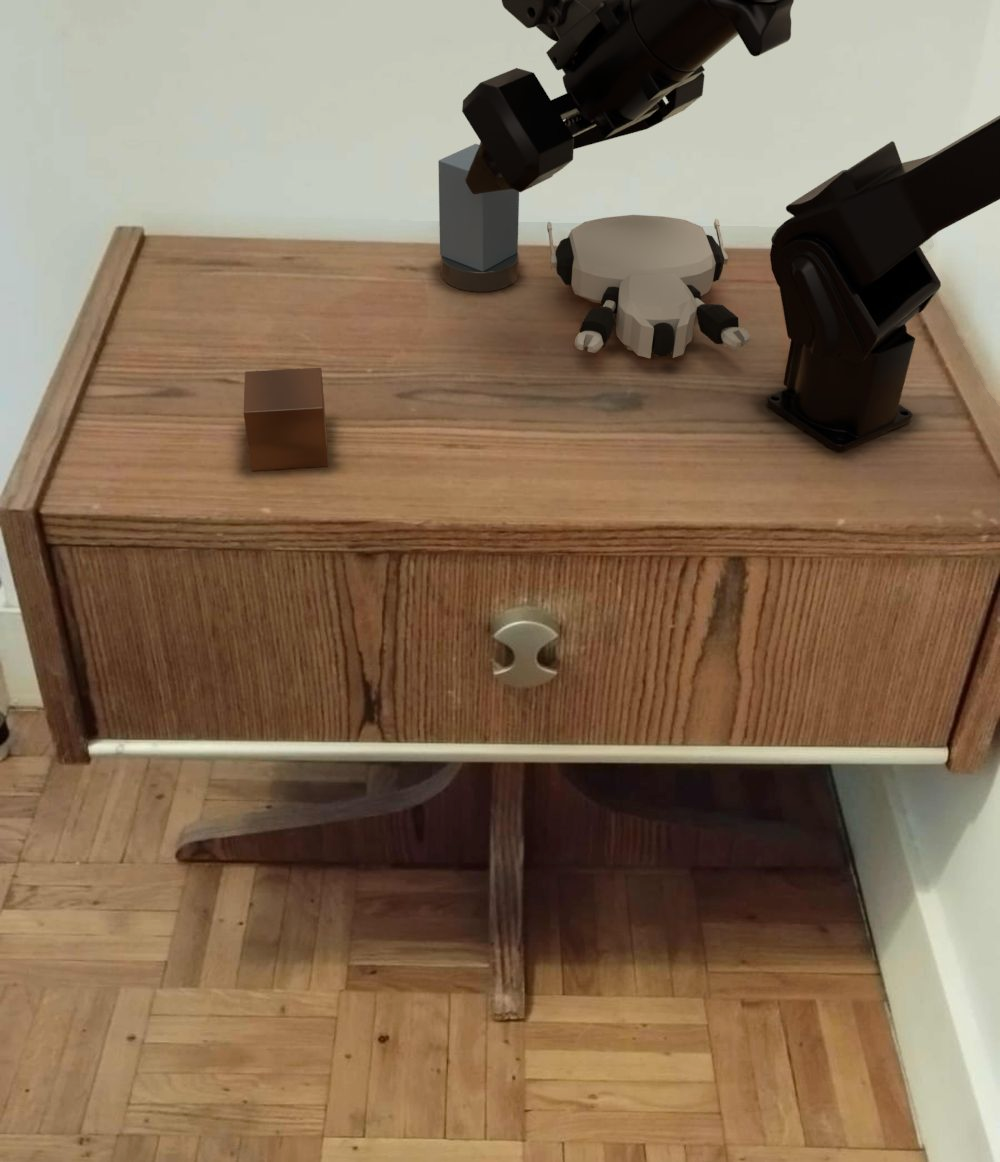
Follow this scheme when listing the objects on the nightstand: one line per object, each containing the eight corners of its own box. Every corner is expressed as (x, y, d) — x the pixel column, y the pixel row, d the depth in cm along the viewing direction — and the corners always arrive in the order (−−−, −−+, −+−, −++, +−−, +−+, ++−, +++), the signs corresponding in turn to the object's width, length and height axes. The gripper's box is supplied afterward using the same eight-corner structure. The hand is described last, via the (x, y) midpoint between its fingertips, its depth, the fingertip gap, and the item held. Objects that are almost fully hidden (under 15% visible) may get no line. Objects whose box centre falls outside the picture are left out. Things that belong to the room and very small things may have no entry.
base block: (326, 424, 78) (321, 367, 75) (328, 466, 74) (323, 407, 72) (252, 429, 77) (244, 371, 75) (251, 471, 74) (243, 412, 71)
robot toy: (753, 382, 84) (709, 262, 94) (765, 323, 81) (718, 205, 91) (566, 388, 83) (543, 266, 94) (570, 328, 80) (546, 208, 90)
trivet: (533, 279, 93) (534, 260, 92) (468, 299, 90) (468, 279, 89) (490, 249, 96) (490, 231, 95) (426, 268, 94) (426, 249, 93)
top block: (518, 253, 92) (520, 157, 88) (482, 272, 90) (483, 175, 86) (475, 237, 94) (475, 143, 90) (439, 255, 92) (437, 160, 87)
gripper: (683, -126, 78) (535, 26, 91) (488, -67, 67) (349, 97, 80) (777, 35, 80) (619, 164, 92) (602, 119, 69) (448, 252, 81)
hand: (514, 165), depth 86 cm, fingers open, 9 cm apart
